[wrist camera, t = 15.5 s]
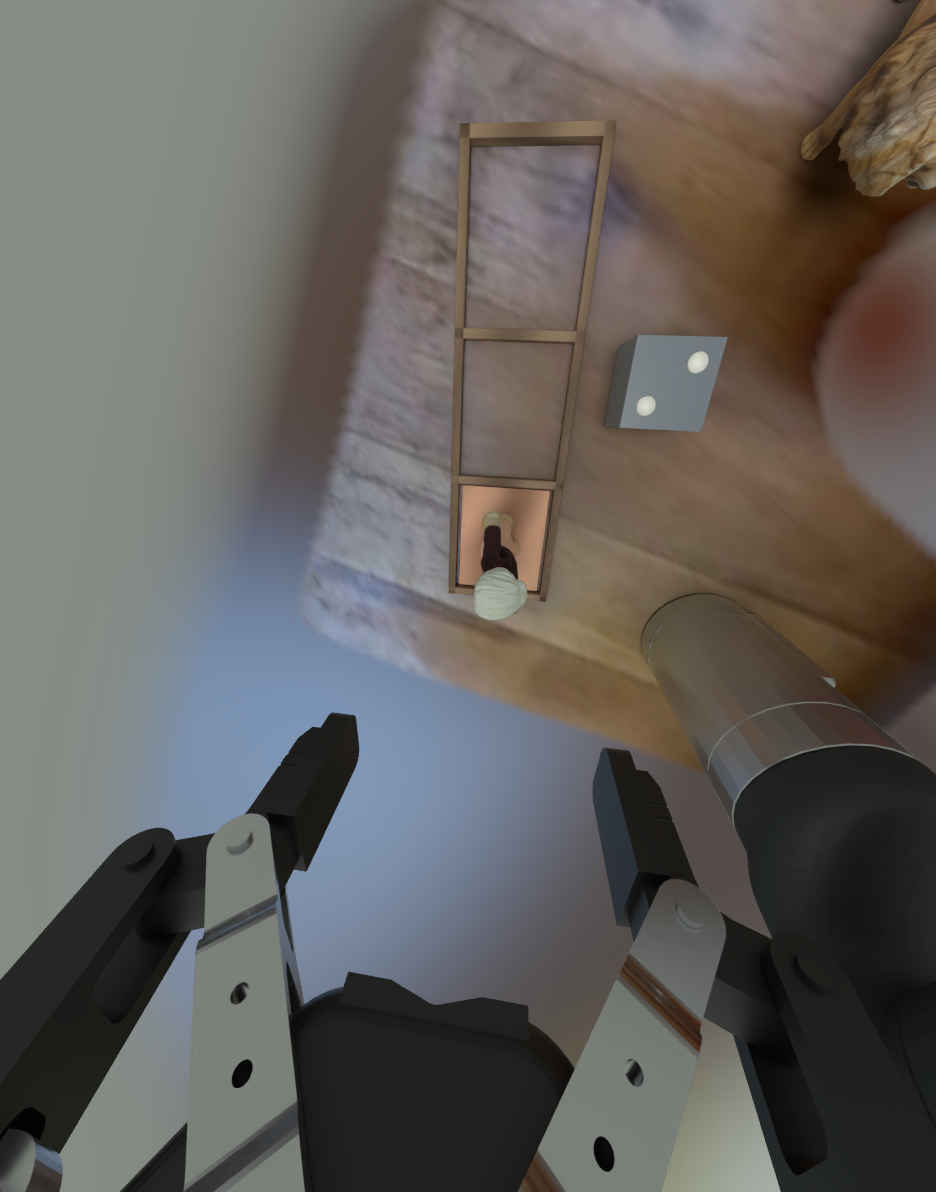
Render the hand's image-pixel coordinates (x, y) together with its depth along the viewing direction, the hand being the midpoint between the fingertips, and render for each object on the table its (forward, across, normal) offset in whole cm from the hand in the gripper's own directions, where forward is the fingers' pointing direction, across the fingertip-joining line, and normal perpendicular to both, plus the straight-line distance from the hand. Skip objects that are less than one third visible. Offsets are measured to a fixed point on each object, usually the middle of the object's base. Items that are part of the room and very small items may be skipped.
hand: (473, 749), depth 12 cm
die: (+24, -9, -12) cm, 28 cm away
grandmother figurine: (+24, 0, 0) cm, 24 cm away
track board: (+24, 0, -10) cm, 26 cm away
